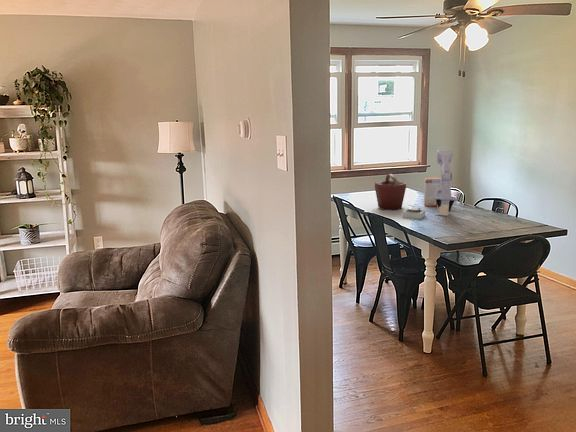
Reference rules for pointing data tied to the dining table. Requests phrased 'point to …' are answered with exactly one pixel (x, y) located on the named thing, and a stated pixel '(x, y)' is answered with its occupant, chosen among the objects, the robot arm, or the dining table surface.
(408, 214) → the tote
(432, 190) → the cracker box
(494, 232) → the dining table surface
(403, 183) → the bucket
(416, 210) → the metal block
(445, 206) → the carton
